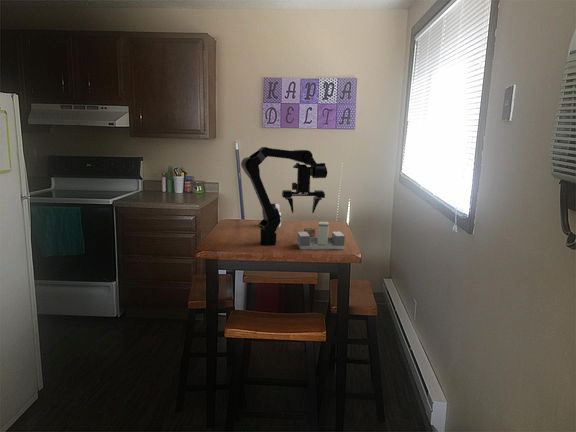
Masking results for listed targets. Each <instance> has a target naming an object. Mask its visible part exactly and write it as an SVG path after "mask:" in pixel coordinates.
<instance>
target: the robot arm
mask: <svg viewBox="0 0 576 432" xmlns="http://www.w3.org/2000/svg"><path fill="white" fill-rule="evenodd" d="M268 157H271V158H279V159H289V160H291V161H294V162H296V163H295V164H294V165H293V166H292V168H293V169H297V173H296V175H297V179H296V182H292V183H291V189H283V190H282V192H281V197H282V198H284V199H285V200H287V201H288V204H289V206H290V210H291V214H294V200H293V197H312V199H313V202H312V209H311V210H312V211H311V214H314V212H315V210H316V208H317V206H318V204H319V202H320V201H322V199H325V198H326V193H325V191H324V190H322V189H321V190H320V189H319V190H317V189H315V190H314V191H311V186H310V185H311V178H312V179H325V178H327V177H328V169H327V166H326V163H325V162H321V163H320V162H319V163H317V162H316V159H314V156H313V153H312V151H311V150H307V149H293V150H288V149H287V150H286V149H281V148H280V149H279V148H271V147H267V146H262V147H260V148H259V149H258V150H257V151H255V152H254V153H252V154H251V155H250V156H247V157H244V158H243V159H242V160H241V163H240V165H241V168H242V171H244V173H245V174H246V176H247V177H248V179H250V181H251V184H252V187H253V189H254V191H255V194H256V197H257V199H258V201H259V204H260V207H261V210H262V212H261V213H262V217H263V218H262V220H261V221H260V222H259V223H258V225H259V230H260V232H259V233H260V234H259V235H260V236H259V238H260V240H259V245H260V246H275V245H276V243H277V229H278V228H277V226H279V224H280V222H281V223H282V215H281V216H280V214H279V212H280V210H279V211H278V209H277V208H275V207H272V205H271V204H272V203H271V201H270V198H269V196H268V193H267V191H266V190H267V189H266V188H265V186H264V183H263V181H262V178H261V173H260V172H261V171H260V166H259V165H261V164H262V163H263V162H264V161H265V159H266V158H268ZM300 163H301V164H300ZM302 163H303V164H302ZM280 217H281V219H280Z"/></svg>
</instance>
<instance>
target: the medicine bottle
mask: <svg viewBox="0 0 576 432" xmlns="http://www.w3.org/2000/svg"><path fill="white" fill-rule="evenodd" d="M271 205H272V207H275V208H277V209H278V211H279V214H280V216H281V217H280V219H281V220H282V212H281V211H280V207H281V206H280V204H279V203H271ZM281 226H282V221H281V222H280V224H279V226H277V229H279V228H280V227H281Z"/></svg>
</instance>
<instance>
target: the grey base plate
mask: <svg viewBox="0 0 576 432" xmlns="http://www.w3.org/2000/svg"><path fill="white" fill-rule="evenodd" d="M296 245H297V246H298V248H299V250H345V244H344V245H337V246H336V245H335V244H334V243H333V242H332V236H328V244H327V245H325V244H318V236H315V237H310V246H300V245H299V243H298V236H297V237H296Z"/></svg>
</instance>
